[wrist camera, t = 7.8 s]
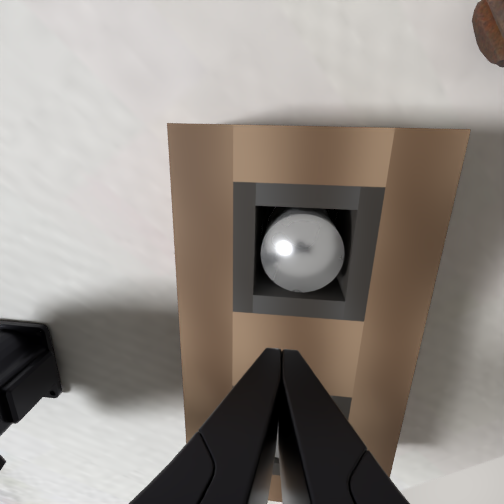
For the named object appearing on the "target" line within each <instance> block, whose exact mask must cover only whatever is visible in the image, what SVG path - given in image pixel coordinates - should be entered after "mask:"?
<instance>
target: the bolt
mask: <svg viewBox="0 0 504 504" xmlns="http://www.w3.org/2000/svg"><path fill="white" fill-rule="evenodd" d="M472 23H473V28H474V33H475V37H476V41H477V44H478V47H479V49H480V51H481V52H482V53H483V55H484V56H485V57H486V58H487V59H488V61H490V62H491V63H493V64H497V65H498V66H499V67H504V0H481V1H480V2H478V3H477V6H476V8H475V10H474V14H473V18H472Z"/></svg>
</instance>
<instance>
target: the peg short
mask: <svg viewBox="0 0 504 504" xmlns="http://www.w3.org/2000/svg"><path fill="white" fill-rule="evenodd" d="M344 253H345V252H344V244H343V241H342V238H341V236H340V234H339V232H338V231H337V229H336V227H335V225H334V223H333V221H332V220H331V218H330V216H329V214H328V212H327V211H326V209H324V208H301V207H278V206H276V207H275V208H274V209H273V211H272V212H271V214H270V216H269V219H268V223H267V227H266V231H265V235H264V239H263V242H262V247H261V261H262V265H263V268H264V270H265V272H266V273H267V275H268V276H269V277H270V279H271V280H272V281H273V282H274V283H276V284H277V285H279V286H280V287H282V288H284V289H287V290H290V291H294V292H311V291H315V290H318V289H320V288H322V287H324V286H326V285H327V284H329V283H330V282H331V281H332V280H333V279H334V278H335V277H336V276H337V274H338V273H339V271H340V269H341V267H342V265H343V261H344Z"/></svg>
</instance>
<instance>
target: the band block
mask: <svg viewBox="0 0 504 504" xmlns="http://www.w3.org/2000/svg"><path fill="white" fill-rule="evenodd" d="M167 130H168V146H169V163H170V179H171V196H172V213H173V229H174V246H175V262H176V279H177V296H178V312H179V329H180V345H181V362H182V379H183V395H184V412H185V428H186V444H187V443H188V441H189V440H190V439H191V438H192V437H193V435H194V434H195V433H196V432H198V430H199V428H200V427H201V426H202V425H203V423H204V422H205V421H206V420H207V419H208V417H209V416H210V415H211V414H212V413H213V411H214V410H215V409H216V408H217V406H218V405H219V404H220V403H221V402H222V400H223V399H224V398H225V397H226V396H227V394H228V393H229V392H230V391H231V390H232V388H233V387H234V386H235V385H236V383H237V382H238V381H239V380H240V379H241V377H242V376H243V375H244V374H245V373H246V371H247V370H248V369H249V368H250V367H251V365H252V364H253V363H254V362H255V360H256V359H257V358H258V357H259V356H260V354H261V353H262V352H263V351H264V350H265V348H279V349H281V351H282V350H283V349H291V350H298V351H299V352H300V354H301V355H302V357H303V358H304V359H305V361H306V362H307V364H308V365H309V366H310V368H311V369H312V371H313V372H314V374H315V375H316V376H317V378H318V379H319V381H320V382H321V383H322V385H323V386H324V388H325V389H326V390H327V392H328V393H329V395H330V396H331V397H332V399H333V400H334V402H335V403H336V404H337V406H338V407H339V409H340V410H341V411H342V413H343V414H344V416H345V417H346V418H347V420H348V421H349V423H350V424H351V425H352V427H353V428H354V430H355V431H356V432H357V434H358V435H359V437H360V438H361V439H362V441H363V442H364V444H365V445H366V447H367V450H369V451H370V452H371V453H372V455H373V456H374V458H375V459H376V460H377V462H378V463H379V465H380V466H381V467H382V469H383V470H384V471H385V473H386V474H387V475H388V477H389V478H390V474H391V470H392V465H393V461H394V457H395V452H396V448H397V444H398V440H399V435H400V431H401V427H402V422H403V418H404V414H405V410H406V405H407V401H408V397H409V392H410V388H411V384H412V380H413V375H414V371H415V367H416V362H417V358H418V354H419V350H420V345H421V341H422V337H423V332H424V328H425V324H426V320H427V315H428V311H429V307H430V302H431V298H432V294H433V290H434V285H435V281H436V277H437V272H438V268H439V264H440V260H441V255H442V251H443V247H444V242H445V238H446V234H447V230H448V225H449V221H450V217H451V212H452V208H453V204H454V200H455V195H456V191H457V187H458V182H459V178H460V174H461V170H462V165H463V161H464V157H465V152H466V148H467V144H468V140H469V135H470V131H471V129H429V128H379V127H329V126H279V125H229V124H179V123H167ZM263 206H278V207H301V208H324V209H338V215H337V223H336V229H337V231H338V232H339V234H340V236H341V238H342V241H343V244H344V252H345V253H344V261H343V265H342V267H341V269H340V271H339V273H338V274H337V276H336V277H335V278H334V279H333V280H332V281H331V282H330V283H329V284H327V285H326V286H324V287H322V288H320V289H318V290H315V291H311V292H294V291H290V290H287V289H284V288H282V287H280V286H279V285H277V284H276V283H274V282H273V281H272V280H271V279H270V277H269V276H268V275H267V273H266V272H265V270H264V268H263V265H262V261H261V247H262V224H263ZM268 500H270V501H277V502H282V490H281V477H280V464H279V458H277V457H275V459H274V465H273V471H272V477H271V483H270V490H269V496H268Z"/></svg>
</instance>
